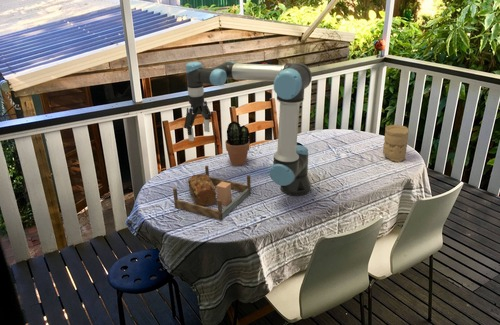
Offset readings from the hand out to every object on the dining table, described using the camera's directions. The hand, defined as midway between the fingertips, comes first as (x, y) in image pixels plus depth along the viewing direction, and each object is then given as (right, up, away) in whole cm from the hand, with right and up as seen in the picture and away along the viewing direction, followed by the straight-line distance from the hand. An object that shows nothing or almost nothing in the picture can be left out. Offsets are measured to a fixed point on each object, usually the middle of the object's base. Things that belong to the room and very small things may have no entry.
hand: (199, 136), depth 225 cm
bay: (+8, -32, -6) cm, 33 cm away
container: (+108, -11, +34) cm, 114 cm away
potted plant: (+19, -13, +33) cm, 40 cm away
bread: (+2, -31, -3) cm, 31 cm away
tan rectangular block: (+13, -33, -9) cm, 36 cm away
